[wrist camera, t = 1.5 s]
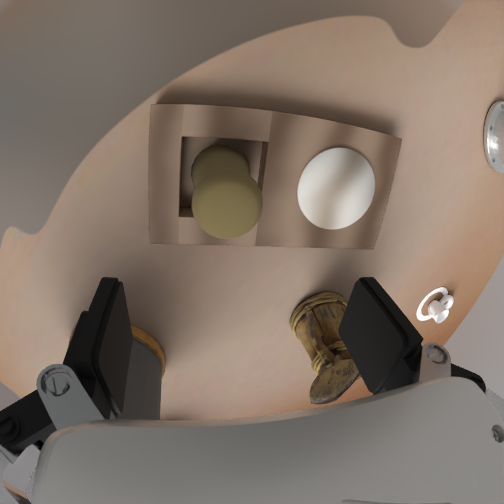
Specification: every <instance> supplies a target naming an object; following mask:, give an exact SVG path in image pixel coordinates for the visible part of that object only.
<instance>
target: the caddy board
mask: <svg viewBox="0 0 504 504" xmlns="http://www.w3.org/2000/svg"><path fill="white" fill-rule="evenodd" d="M183 136H190V137H214V138H231V139H244V140H255V141H263V145H262V153H261V161H260V169H259V177H258V187H259V188H260V190H261V192H262V198H263V208H262V213H261V217H260V218H259V220H258V222H257V224H256V225H255V226H254V227H253V228H252V229H251V230H250V231H249V232H247V233H245V234H244V235H242V236H240V237H236V238H231V239H225V238H217V237H215V236H212V235H209V234H208V233H207V232H205V231H204V230H203V229H201V227H200V226H199V224H198V223H197V221H196V220H195V218H194V215H193V211H192V209H190V208H180V203H181V171H182V150H183ZM401 141H402V139H401V138H398V137H394V136H391V135H388V134H384V133H380V132H377V131H373V130H369V129H365V128H361V127H357V126H353V125H348V124H344V123H339V122H335V121H330V120H325V119H320V118H314V117H309V116H303V115H297V114H291V113H284V112H277V111H269V110H261V109H252V108H242V107H230V106H215V105H193V104H151V113H150V131H149V171H148V186H149V226H150V244H192V245H235V246H275V247H311V248H345V249H374V246H375V243H376V240H377V236H378V233H379V230H380V227H381V223H382V220H383V216H384V213H385V209H386V205H387V202H388V198H389V194H390V190H391V186H392V182H393V178H394V174H395V170H396V165H397V161H398V156H399V151H400V146H401Z"/></svg>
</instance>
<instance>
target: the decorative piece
mask: <svg viewBox="0 0 504 504" xmlns="http://www.w3.org/2000/svg"><path fill="white" fill-rule="evenodd" d="M130 325H131V329H132V334H133V343H132V349H131V355H130V361H129V368H128V375H127V382H126V389H125V397H124V406H123V412H122V414H121V413H118V419H135V420H160V402H161V381H162V377H163V375H164V372H165V356H164V352H163V350H162V348H161V347H160V345H159V344H158V343H157V342H156V340H155V339H154V338H153V337H151V336H150V335H149V334H148V333H146V332H145V331H143V330H141V329H140V328H138V327H136V326H134V325H132V324H130ZM74 330H75V329H74ZM73 333H74V331H73ZM73 333H72V335H71V338H72V336H73ZM71 338H70V341H71ZM70 341H69V344H70ZM68 347H69V345H68Z"/></svg>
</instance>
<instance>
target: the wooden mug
mask: <svg viewBox="0 0 504 504" xmlns="http://www.w3.org/2000/svg"><path fill="white" fill-rule="evenodd" d="M347 305H348V304H347V302H346V300H345V299H344V298H343V297H342V296H341V295H339V294H336V293H333V292H322V293H319V294H316V295H314V296H312V297H310V298H308V299H307V300H305V301H304V302H303V303H301V304H300V305H299V306H298V307H297V308H296V309H295V311H294V313H293V314H292V316H291V319H290V326H291V330H292V332H293V333H294V335H295V336H296V338H297V339H298V340H300V342H301V343H302V345H303V347H304V348H305V350H306V352H307V353H308V355H309V357H310V358H311V360H312V363H311V364H312V369H313V370H314V372H315V373H316V374H317V377H316V379H315V380H314V382H313V383H312V386H311V389H310V401H311V403H312V404H326V403H330V402H333V401H335V400H337V399H338V398H339V397H340V396H341V395H342V394H343V393H344V392H345V391H346V390H347V389H348V388H349V387H350V386H351V385H352V384H353V383H354V382H355V380H357V379H359V378H360V377H361V375H360V373H359V371H358V369H357V367H356V365H355V363H354V361H353V360H352V358H351V356H350V354H349V352H348V350H347V348H346V347H345V345H344V343H343V341H342V339H341V337H340V335H339V331H338V330H339V325H340V323H341V320H342V318H343V315H344V313H345V310H346V307H347Z"/></svg>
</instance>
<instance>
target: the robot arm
mask: <svg viewBox="0 0 504 504" xmlns="http://www.w3.org/2000/svg"><path fill="white" fill-rule="evenodd" d="M484 149H485V154H486V157H487V160H488V162H489V164H490V166H491V167H492V168H493V169H494V170H495V171H498V172H500V173H504V101H497V102H495V103H494V104H493V105H492V106H491V108H490V109H489V112H488V114H487V117H486V121H485V126H484ZM338 331H339V335H340V337H341V339H342V341H343V343H344V345H345V347H346V348H347V350H348V352H349V354H350V356H351V358H352V360H353V361H354V363H355V365H356V367H357V369H358V371H359V373H360V375H361V377H362V379H363V380H364V382H365V384H366V386H367V388H368V390H369V391H370V392H372V393H373V395H372V396H368V397H365V398H361V399H356V400H352V401H348V402H343V403H339V404H334V405H329V406H324V407H319V408H313V409H308V410H302V411H295V412H289V413H281V414H274V415H265V416H256V417H245V418H232V419H214V420H135V419H118V413H121V414H122V412H123V406H124V397H125V389H126V382H127V375H128V368H129V361H130V355H131V349H132V343H133V334H132V329H131V325H130V320H129V315H128V310H127V304H126V299H125V293H124V287H123V283H122V282H118V279H117V278H109V277H103V278H102V279H101V281H100V284H99V286H98V288H97V291H96V293H95V296H94V298H93V300H92V303H91V305H90V308H89V311H83V312H82V313H81V315H80V318H79V320H78V323H77V325H76V328H75V330H74V333H73V336H72V338H71V341H70V344H69V347H68V350H67V353H66V355H65V358H64V361H63V364H53V365H50V366H48V367H46V368H45V369H43V370H42V371H41V373H40V374H39V376H38V378H37V384H36V386H37V390H35V391H34V392H32V393H30V394H28V395H27V396H25V397H23V398H22V399H20V400H18V401H17V402H15V403H13V404H12V405H10V406H9V407H7V408H5V409H3V410H2V411H0V504H504V400H503V399H502V398H501V397H499V396H498V395H497V394H495V393H494V392H493V391H491V390H490V389H487V390H486V386H485V383H484V381H483V379H482V378H481V377H480V376H479V375H477V374H475V373H473V372H471V371H468V370H466V369H463V368H461V367H459V366H456V365H454V364H452V363H451V358H450V355H449V353H448V351H447V350H446V349H445V348H444V347H443V346H441V345H439V344H437V343H434V342H428V343H426V344H425V345H424V346H423V347H422V345H421V342H422V341H423V338H422V336H421V335H420V334H419V333H418V331H417V330H416V329H415V327H414V326H413V325H412V323H411V322H410V321H409V320H408V318H407V317H406V316H405V315H404V313H403V312H402V311H401V310H400V308H399V307H398V306H397V305H396V303H395V302H394V301H393V300H392V299H391V297H390V296H389V295H388V294H387V292H386V291H385V290H384V289H383V288H382V286H381V285H380V284H379V283H378V282H377V281H376V279H375V278H373V277H361V278H360V279H359V280H358V281H357V282H356V283H355V285H354V288H353V291H352V294H351V296H350V299H349V302H348V305H347V307H346V310H345V313H344V315H343V318H342V320H341V323H340V325H339V330H338ZM34 469H36V470H35V475H34V481H33V488H32V500H31V503H30V501H29V500H28V498H27V496H26V486H27V483H28V482H29V480H30V479H31V476H30V474H31V473H32V472H33V471H34Z"/></svg>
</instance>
